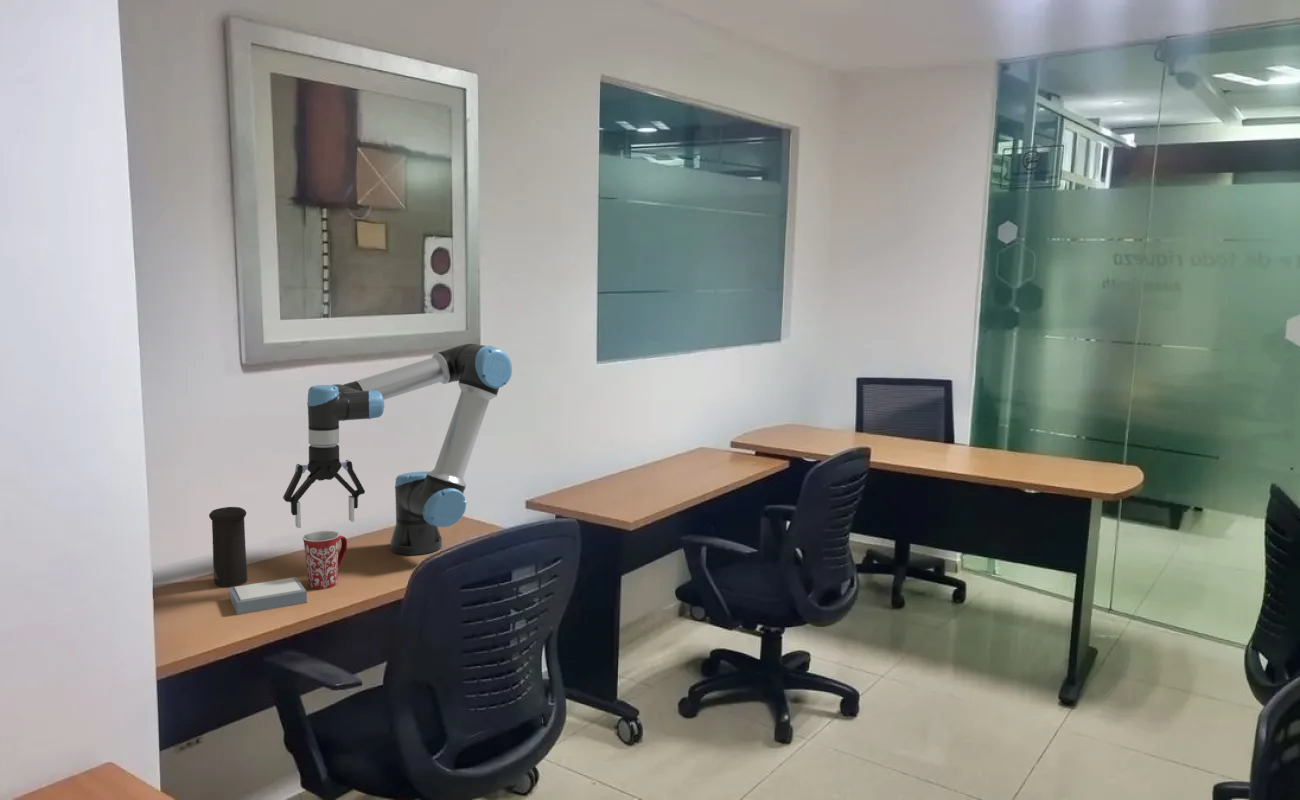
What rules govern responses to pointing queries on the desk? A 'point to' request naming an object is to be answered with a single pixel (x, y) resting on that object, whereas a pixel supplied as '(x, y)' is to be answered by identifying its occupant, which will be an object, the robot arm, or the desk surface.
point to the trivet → (267, 595)
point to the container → (229, 546)
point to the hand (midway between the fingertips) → (325, 523)
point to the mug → (323, 558)
